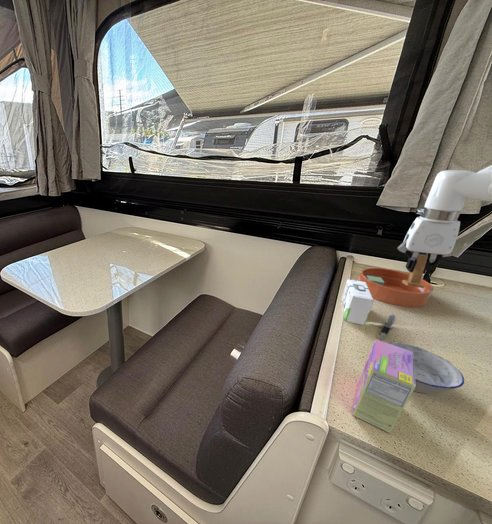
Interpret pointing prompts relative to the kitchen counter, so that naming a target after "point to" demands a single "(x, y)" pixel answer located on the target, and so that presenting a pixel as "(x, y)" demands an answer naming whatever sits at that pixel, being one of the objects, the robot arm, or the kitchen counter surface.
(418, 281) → the brown wooden post
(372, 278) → the block
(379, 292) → the bowl
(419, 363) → the bowl
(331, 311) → the kitchen counter surface
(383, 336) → the knife
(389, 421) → the box
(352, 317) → the ink box
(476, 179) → the robot arm
